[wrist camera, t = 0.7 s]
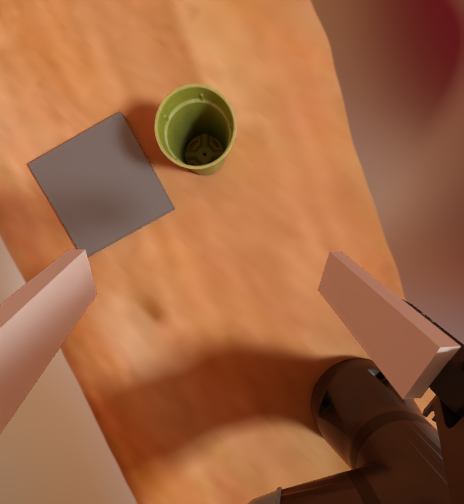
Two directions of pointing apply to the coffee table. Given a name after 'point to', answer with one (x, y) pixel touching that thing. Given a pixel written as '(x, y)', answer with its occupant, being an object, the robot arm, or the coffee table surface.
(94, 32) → the coffee table surface
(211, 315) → the coffee table surface
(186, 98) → the plant pot
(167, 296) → the coffee table surface
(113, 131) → the mat
